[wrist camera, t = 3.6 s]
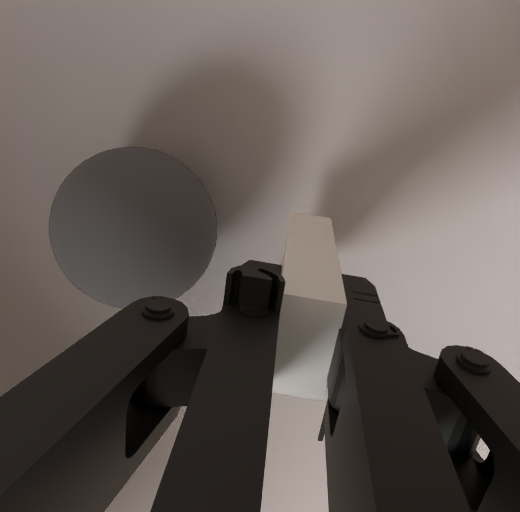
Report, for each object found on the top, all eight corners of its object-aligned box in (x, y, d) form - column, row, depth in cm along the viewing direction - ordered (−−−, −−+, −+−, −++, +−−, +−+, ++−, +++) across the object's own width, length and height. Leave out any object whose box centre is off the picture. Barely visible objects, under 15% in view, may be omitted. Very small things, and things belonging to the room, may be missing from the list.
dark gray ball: (96, 259, 19) (19, 325, 14) (94, 127, 17) (1, 149, 12) (222, 279, 19) (189, 354, 14) (236, 148, 17) (202, 179, 12)
